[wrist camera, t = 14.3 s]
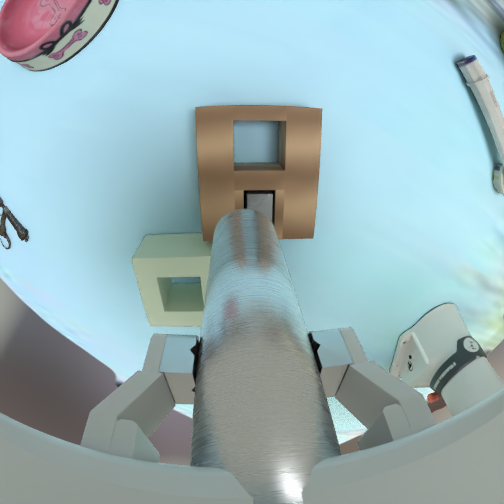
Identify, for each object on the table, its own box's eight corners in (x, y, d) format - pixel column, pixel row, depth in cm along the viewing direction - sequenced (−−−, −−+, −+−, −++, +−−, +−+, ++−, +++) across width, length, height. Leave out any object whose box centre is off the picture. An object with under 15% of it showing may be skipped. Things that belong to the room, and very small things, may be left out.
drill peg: (274, 264, 17) (329, 514, 5) (215, 265, 17) (200, 524, 4) (277, 208, 15) (379, 493, 3) (212, 209, 15) (170, 514, 3)
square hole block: (227, 296, 39) (226, 326, 33) (158, 297, 38) (149, 325, 33) (223, 231, 34) (221, 255, 29) (145, 235, 33) (131, 258, 28)
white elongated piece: (481, 52, 18) (533, 194, 26) (456, 58, 25) (509, 185, 32) (466, 61, 20) (520, 210, 27) (440, 68, 26) (496, 200, 33)
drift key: (264, 270, 37) (269, 292, 33) (246, 270, 37) (248, 293, 32) (266, 181, 31) (272, 194, 27) (245, 181, 31) (247, 194, 27)
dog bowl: (34, 97, 23) (1, 101, 17) (6, 22, 14) (-21, 18, 8) (144, 7, 20) (124, -13, 13) (101, -58, 11) (82, -77, 5)
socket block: (303, 222, 34) (313, 238, 30) (206, 224, 33) (203, 241, 29) (309, 108, 27) (322, 108, 23) (201, 108, 27) (195, 107, 23)
